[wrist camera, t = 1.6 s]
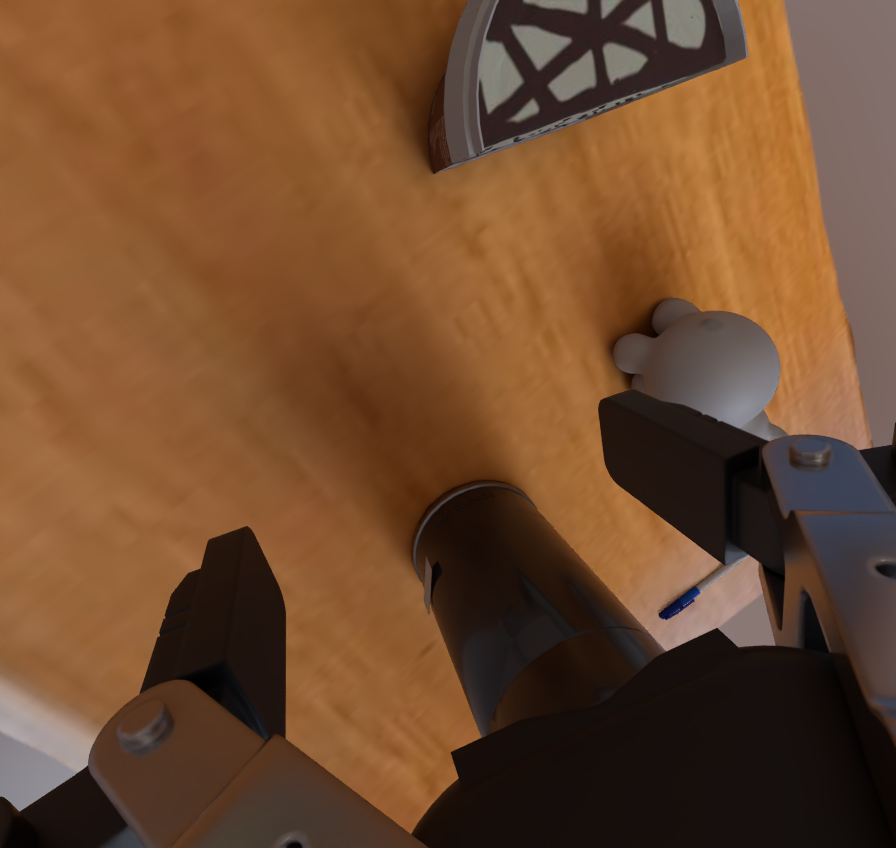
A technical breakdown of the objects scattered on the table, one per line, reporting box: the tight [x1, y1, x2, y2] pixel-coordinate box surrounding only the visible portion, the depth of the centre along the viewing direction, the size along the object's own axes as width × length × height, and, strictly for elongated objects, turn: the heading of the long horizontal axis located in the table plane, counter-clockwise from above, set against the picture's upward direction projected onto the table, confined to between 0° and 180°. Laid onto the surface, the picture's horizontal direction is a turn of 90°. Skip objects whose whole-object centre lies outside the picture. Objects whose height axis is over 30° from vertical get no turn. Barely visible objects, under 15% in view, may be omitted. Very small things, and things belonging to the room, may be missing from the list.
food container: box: [428, 0, 748, 174], centre depth 22 cm, size 12×6×10 cm, turn 109°
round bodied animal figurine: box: [613, 298, 789, 441], centre depth 32 cm, size 7×12×8 cm, turn 34°
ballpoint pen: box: [659, 555, 749, 620], centre depth 44 cm, size 10×1×1 cm, turn 124°
